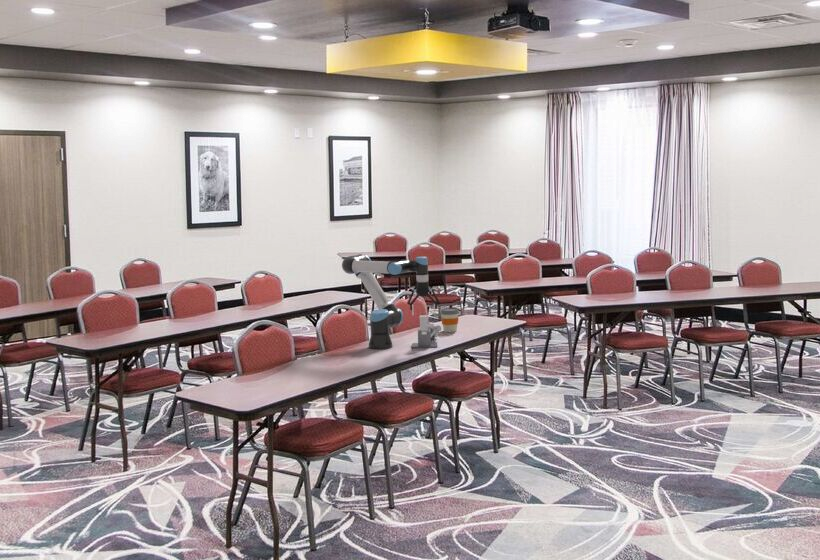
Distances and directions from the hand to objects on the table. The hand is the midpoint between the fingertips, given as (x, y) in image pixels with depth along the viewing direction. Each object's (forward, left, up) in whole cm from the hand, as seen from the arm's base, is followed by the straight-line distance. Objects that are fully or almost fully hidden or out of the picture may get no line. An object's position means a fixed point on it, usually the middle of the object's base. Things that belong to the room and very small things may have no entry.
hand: (423, 314), depth 548 cm
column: (0, 0, -19) cm, 19 cm away
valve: (+2, +18, -20) cm, 27 cm away
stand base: (0, 0, -20) cm, 20 cm away
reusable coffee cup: (+18, +51, -20) cm, 58 cm away
